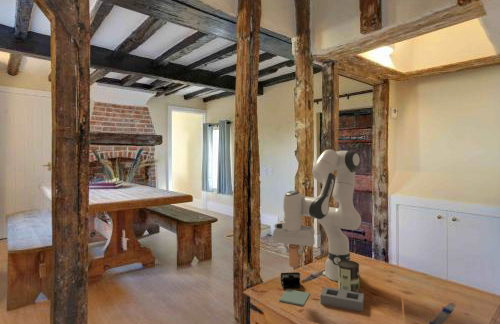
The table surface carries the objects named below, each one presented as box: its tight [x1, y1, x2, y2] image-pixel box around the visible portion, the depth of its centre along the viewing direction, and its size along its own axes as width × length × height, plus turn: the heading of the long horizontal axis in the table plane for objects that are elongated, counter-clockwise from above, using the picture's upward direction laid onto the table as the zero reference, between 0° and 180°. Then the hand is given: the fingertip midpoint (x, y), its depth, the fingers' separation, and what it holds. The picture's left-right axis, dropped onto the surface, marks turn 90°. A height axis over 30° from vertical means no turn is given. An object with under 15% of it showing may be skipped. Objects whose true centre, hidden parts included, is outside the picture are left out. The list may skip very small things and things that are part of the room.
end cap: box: [280, 271, 302, 290], centre depth 154 cm, size 10×7×7 cm
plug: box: [288, 244, 300, 268], centre depth 140 cm, size 4×4×10 cm
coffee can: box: [337, 260, 360, 293], centre depth 146 cm, size 10×10×14 cm
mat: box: [278, 289, 311, 307], centre depth 141 cm, size 12×12×1 cm
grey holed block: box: [319, 286, 365, 313], centre depth 133 cm, size 9×18×5 cm, turn 64°
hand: (293, 253), depth 140 cm, fingers closed on plug, 4 cm apart
